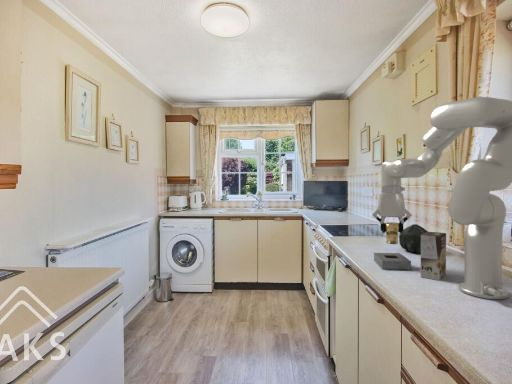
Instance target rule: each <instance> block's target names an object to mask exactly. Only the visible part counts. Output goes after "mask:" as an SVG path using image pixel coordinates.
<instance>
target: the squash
mask: <svg viewBox="0 0 512 384" xmlns="http://www.w3.org/2000/svg"><path fill="white" fill-rule="evenodd" d="M426 232H429V231H428V230H427V229H426V228H425V227H422V226H421V225H419V224H416V223H414V224H411V225H410V226H407V227H406V228H403V231H402V233H399V235H398V240H399V241H398V243H399V245H400V247H401V249H404V250H405V251H408V252H410V253H412V254H414V253H416V254H421V234H423V233H426Z"/></svg>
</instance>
